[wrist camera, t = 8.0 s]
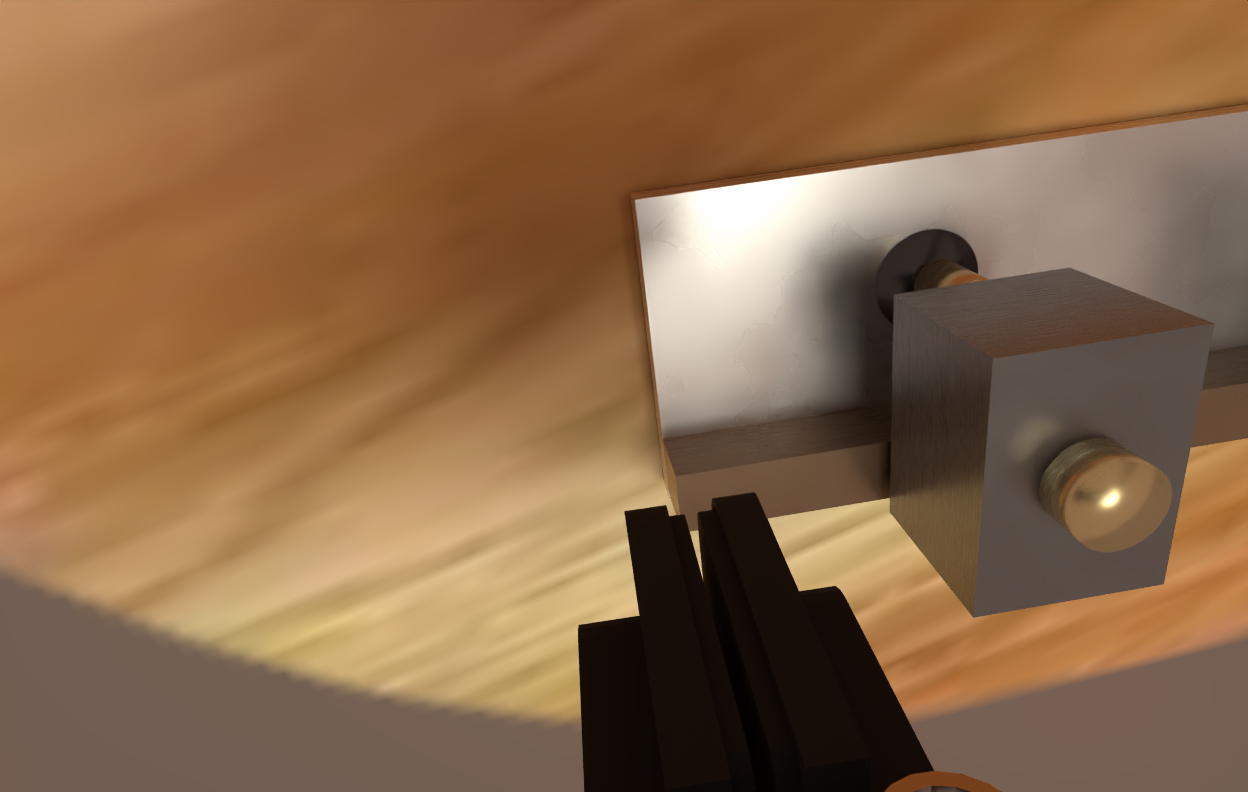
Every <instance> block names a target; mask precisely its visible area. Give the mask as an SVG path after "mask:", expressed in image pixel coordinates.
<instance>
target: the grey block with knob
mask: <svg viewBox="0 0 1248 792" xmlns="http://www.w3.org/2000/svg"><path fill="white" fill-rule="evenodd" d="M1214 324H1215V323H1212V322H1209V321H1207V320H1204V319H1202V318H1199V317H1196V316H1194V315H1191V314H1189V313H1186V312H1184V311H1181V310H1178V309H1176V308H1173V307H1171V306H1168V305H1165V304H1163V303H1160V302H1158V301H1155V300H1153V299H1150V298H1147V297H1145V296H1142V295H1140V294H1137V293H1134V292H1132V291H1129V290H1127V289H1124V288H1122V287H1119V286H1116V285H1114V284H1111V283H1109V282H1106V281H1103V280H1101V279H1098V278H1096V277H1093V276H1090V275H1088V274H1085V273H1083V272H1080V271H1078V270H1075V269H1072V268H1070V267H1069V268H1063V269H1056V270H1050V271H1043V272H1037V273H1030V274H1024V275H1017V276H1011V277H1004V278H998V279H991V280H989V279H987V278H985V277H983V276H981V275H979V274H977V273H975V272H973V271H970V270H968V269H966V268H964V267H962V266H960V265H958V264H956V263H954V262H952V261H949V260H945V259H939V260H935V261H932V262H930V263H928V264H927V265H926V266H924V267H923V268H922V269H921V271H920V272H919V273H918V275H917V277H916V280H915V284H914V291H913V292H907V293H900V294H894V312H893V366H892V419H891V472H890V513H891V514H892V515H893V517H894V518H895V519H896V520H897V522H898V523H899V524H900V525H901V527H902V528H903V529H904V530H905V532H906V533H907V534H908V535H909V537H910V538H911V539H912V541H913V542H914V543H915V544H916V546H917V547H918V548H919V549H920V551H921V552H922V553H923V554H924V556H925V557H926V558H927V559H928V561H929V562H930V563H931V565H932V566H933V567H934V568H935V570H936V571H937V572H938V573H939V575H940V576H941V577H942V578H943V580H944V581H945V582H946V583H947V585H948V586H949V587H950V589H951V590H952V591H953V592H954V594H955V595H956V596H957V597H958V599H959V600H960V601H961V602H962V604H963V605H964V606H965V607H966V609H967V610H968V611H969V613H970V614H971V615H972V616H973V618H974V617H980V616H985V615H991V614H997V613H1002V612H1008V611H1014V610H1019V609H1025V608H1031V607H1036V606H1042V605H1048V604H1053V603H1059V602H1065V601H1070V600H1076V599H1082V598H1087V597H1093V596H1099V595H1105V594H1110V593H1116V592H1122V591H1127V590H1133V589H1139V588H1144V587H1150V586H1156V585H1161V584H1164V580H1165V575H1166V570H1167V565H1168V559H1169V554H1170V549H1171V544H1172V539H1173V534H1174V529H1175V524H1176V519H1177V513H1178V508H1179V503H1180V498H1181V493H1182V488H1183V483H1184V478H1185V473H1186V467H1187V462H1188V457H1189V452H1190V447H1191V442H1192V437H1193V432H1194V427H1195V421H1196V416H1197V411H1198V406H1199V401H1200V396H1201V391H1202V386H1203V381H1204V375H1205V370H1206V365H1207V360H1208V355H1209V350H1210V345H1211V340H1212V335H1213V329H1214Z"/></svg>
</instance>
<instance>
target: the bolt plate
mask: <svg viewBox="0 0 1248 792" xmlns="http://www.w3.org/2000/svg"><path fill="white" fill-rule="evenodd" d="M630 197H631V206H632V214H633V223H634V231H635V240H636V248H637V257H638V265H639V274H640V282H641V291H642V299H643V308H644V316H645V325H646V333H647V342H648V350H649V359H650V367H651V376H652V384H653V393H654V401H655V410H656V418H657V427H658V435H659V444H660V452H661V461H662V469H663V478H664V482H665V485H666V488H667V492H668V495H669V498H671V500H672V503H673V507H674V510H675V513H676V515H681V514H685V517H686V520H687V524H688V528H689V531H694V530H698V520H697V513H698V512H701V511H708V510H712V507H711V502H712V498H718V497H724V496H731V495H738V494H744V493H751V492H754V493H756V495H757V497H758V499H759V501H760V503H761V506H762V508H763V510H764V513H765V515H766V517H767V518H772V517H778V516H784V515H790V514H796V513H802V512H808V511H814V510H820V509H826V508H832V507H838V506H844V505H850V504H856V503H862V502H868V501H874V500H880V499H886V498H890V472H891V419H892V366H893V312H894V294H900V293H907V292H913V291H914V284H915V280H916V277H917V275H918V273H919V272H920V271H921V269H922V268H923V267H924V266H926V265H927V264H928V263H930V262H932V261H935V260H939V259H945V260H949V261H952V262H954V263H956V264H958V265H960V266H962V267H964V268H966V269H968V270H970V271H973V272H975V273H977V274H979V275H981V276H983V277H985V278H987V279H989V280H991V279H998V278H1004V277H1011V276H1017V275H1024V274H1030V273H1037V272H1043V271H1050V270H1056V269H1063V268H1069V267H1070V268H1072V269H1075V270H1078V271H1080V272H1083V273H1085V274H1088V275H1090V276H1093V277H1096V278H1098V279H1101V280H1103V281H1106V282H1109V283H1111V284H1114V285H1116V286H1119V287H1122V288H1124V289H1127V290H1129V291H1132V292H1134V293H1137V294H1140V295H1142V296H1145V297H1147V298H1150V299H1153V300H1155V301H1158V302H1160V303H1163V304H1165V305H1168V306H1171V307H1173V308H1176V309H1178V310H1181V311H1184V312H1186V313H1189V314H1191V315H1194V316H1196V317H1199V318H1202V319H1204V320H1207V321H1209V322H1212V323H1215V324H1214V329H1213V335H1212V340H1211V345H1210V350H1209V355H1208V360H1207V365H1206V370H1205V375H1204V381H1203V386H1202V391H1201V396H1200V401H1199V406H1198V411H1197V416H1196V421H1195V427H1194V432H1193V437H1192V442H1191V447H1197V446H1203V445H1209V444H1215V443H1221V442H1227V441H1233V440H1239V439H1245V438H1248V104H1243V105H1236V106H1229V107H1222V108H1215V109H1209V110H1202V111H1195V112H1188V113H1181V114H1174V115H1167V116H1160V117H1153V118H1146V119H1139V120H1132V121H1125V122H1119V123H1112V124H1105V125H1098V126H1091V127H1084V128H1077V129H1070V130H1063V131H1056V132H1049V133H1042V134H1035V135H1029V136H1022V137H1015V138H1008V139H1001V140H994V141H987V142H980V143H973V144H966V145H959V146H952V147H946V148H939V149H932V150H925V151H918V152H911V153H904V154H897V155H890V156H883V157H876V158H869V159H862V160H856V161H849V162H842V163H835V164H828V165H821V166H814V167H807V168H800V169H793V170H786V171H779V172H772V173H766V174H759V175H752V176H745V177H738V178H731V179H724V180H717V181H710V182H703V183H696V184H689V185H683V186H676V187H669V188H662V189H655V190H648V191H641V192H634V193H630ZM1191 447H1190V448H1191Z"/></svg>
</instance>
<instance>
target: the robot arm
mask: <svg viewBox="0 0 1248 792" xmlns="http://www.w3.org/2000/svg"><path fill="white" fill-rule="evenodd" d="M711 507H712V510H708V511H701V512H698V513H697V520H698V531H699V542H700V552H701V562H702V572H703V579H702V576H701V572H700V568H699V564H698V561H697V557H696V553H695V550H694V546H693V542H692V539H691V535H690V531H689V528H688V524H687V520H686V517H685V514H681V515H674V516H669V514H668V510H667V506H666V505H664V506H657V507H650V508H644V509H637V510H630V511H624V512H625V519H626V526H627V533H628V539H629V546H630V553H631V560H632V567H633V574H634V581H635V588H636V594H637V601H638V608H639V615H640V616H635V617H628V618H622V619H615V620H609V621H602V622H595V623H589V624H582V625H579V627H578V647H579V671H580V696H581V720H582V744H583V769H584V792H1001V791H999V790H998V789H996V788H995V787H993V786H991V785H990V784H988V783H986V782H983V781H980V780H977V779H974V778H972V777H969V776H966V775H963V774H959V773H950V772H941V771H934V770H933V768H932V766H931V764H930V762H929V760H928V758H927V756H926V754H925V752H924V750H923V748H922V746H921V744H920V742H919V740H918V738H917V737H916V735H915V732H914V731H913V729H912V727H911V725H910V723H909V721H908V719H907V717H906V715H905V713H904V711H903V709H902V707H901V705H900V703H899V701H898V699H897V697H896V695H895V693H894V692H893V690H892V688H891V686H890V684H889V682H888V680H887V678H886V676H885V674H884V672H883V670H882V668H881V666H880V664H879V662H878V660H877V658H876V656H875V655H874V653H873V651H872V649H871V647H870V645H869V643H868V641H867V639H866V637H865V635H864V633H863V631H862V629H861V627H860V625H859V623H858V621H857V619H856V617H855V616H854V614H853V612H852V610H851V608H850V606H849V604H848V602H847V600H846V598H845V596H844V595H843V593H842V592H841V590H840V589H839V588H837V587H836V586H832V587H825V588H819V589H812V590H806V591H799V590H798V588H797V586H796V584H795V581H794V579H793V577H792V574H791V572H790V570H789V568H788V565H787V563H786V561H785V558H784V556H783V554H782V551H781V549H780V547H779V545H778V542H777V540H776V538H775V535H774V533H773V531H772V529H771V526H770V524H769V522H768V519H767V517H766V515H765V513H764V510H763V508H762V506H761V503H760V501H759V499H758V497H757V495H756V493H754V492H751V493H744V494H738V495H731V496H724V497H718V498H712V502H711Z"/></svg>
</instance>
